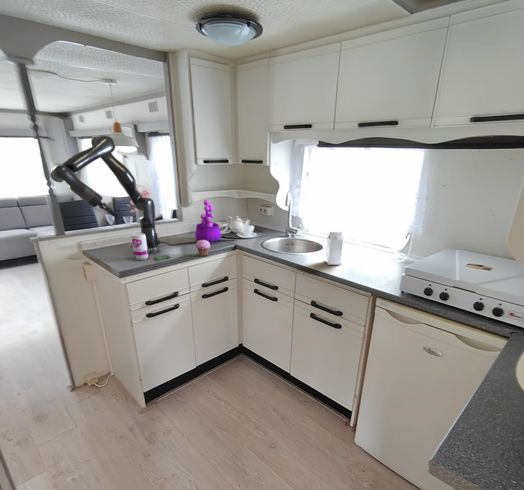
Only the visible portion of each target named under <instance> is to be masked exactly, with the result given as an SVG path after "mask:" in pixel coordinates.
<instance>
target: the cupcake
mask: <svg viewBox="0 0 524 490" xmlns="http://www.w3.org/2000/svg"><path fill="white" fill-rule="evenodd" d="M197 241H198V240H197ZM210 247H211V243H209V242H208V241H206V240H199V241H198V242H197V243H195V249H197V251H198V255H199V256H200V257H206V256H208V255H209V249H210Z"/></svg>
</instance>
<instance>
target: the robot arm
mask: <svg viewBox="0 0 524 490" xmlns="http://www.w3.org/2000/svg"><path fill="white" fill-rule="evenodd" d="M90 144H91V146H90V147H89V148H86V149H84V150H81V151H79V152H77V153H75V154H73V155H72V156H71V157H69V158H68V159H66V160H65V161H64V162H62V163H60V164H57V165H56V166H54V167H53V168H52V169H51V170H50V174H49V177H50V178H51V180H52V181H54V182H55V183H64V182H65V183H66V184H67V185H68V189H69V190H70V191H71V192H73V193H74V194H75V195H77V196H78V197H79V198H80V199H81V200H83V202H85V203H86V204H87V205H90V207H92V208H96V207H97V206H98V208H99V209H100V210H102V211H103V212H105V213H106V214H109V215H110V216H112V217H114V218H115V219H117V220H118V219H119V218H120V215H119V214H118V213H116V211H115V210H113V209H112V207H110V206H109V205H108V204H107V203H106V202H105V201H103V196H102V195H100V193H98V192H97V191H96V190H94V189H93V188H91V186H89V185H88V184H85V183H84V182H83V181H82V180H81V179H79V178H78V176H77V175H76V174H77V173H78V172H80V171H82V170H83V169H84V168H86V167H87V166H89V165H90V164H92V163H93V162H95V161H97V160H98V159H101V160H102V161H103V163H104V164H105V165H106V166H107V168H108V169H109V170H110V172H111V174H113V176H114V177H115V178H116V180H117V181H118V183H119V184H120V185H121V186H122V189H124V191H125V193H126V194H127V195H128V197H129V198H130V200H131V202H132V204H133V205H134V207H135V208H136V210H138V211H139V212H143V213H142V214H143V215H142V216H141V217H140V218H139V225H140V233H144V234H145V236H146V242H147V245H158V246H160V245H161V244H166V245H168V246H172V247H173V246H180V245H187V244H196V243H197V242H198V240H196V241H187V242H180V243H173V244H172V243H169V242H168V241H167V242H166V241H161V240H160V239H159V238H158V237H159V236H158V233H157V229H156V222H155V220H156V206H155V202H154V199H152V198H150V197H145V196H143V195H142V194H141V192H140V191H139V189H138V187H137V181H136V178H135V176H134V175H133V173H132V171H131V170H130V169H129V168H128V167H127V166H126V165H125V164H124V163H122V162H121V161H120V160H119V159H117V158H116V157H115V155H114V154H113V153H114V152H115V149H116V142H115V140H114V139H113V138H112V137H111V136H109V135H96V136H93V137H92V138H91V141H90ZM102 201H103V202H102ZM231 241H233V242H234V241H236V239H235V238H234V239H233V238H232V239H219V240H218V241H217V242H231Z"/></svg>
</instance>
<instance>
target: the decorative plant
mask: <svg viewBox="0 0 524 490" xmlns="http://www.w3.org/2000/svg"><path fill="white" fill-rule="evenodd" d="M203 205H204V207H203V210H204V211H205V213H201V214H200V219H201V221H200V223H197V224H196V227H195V233H194V238H195V239H196V241H199V240H206V241H208V242H209V243H210V244H211V243H216V242H219V241H218V240H221V238H222V232H221V229H220V225H219V223H217V222H213V221H212V219H213V218H214V213H212V212H213V210H214V207H213V205H211V204H210V201H209V200H208V199H205V200H204V201H203Z"/></svg>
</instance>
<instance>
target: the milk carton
mask: <svg viewBox="0 0 524 490" xmlns="http://www.w3.org/2000/svg"><path fill="white" fill-rule="evenodd" d="M343 243H344V239H343V233H342V231H329V234H328V236H327V240H326V251H325V262H326V264H327V265H334V266H336V265H337V266H338V265H341V261H342V251H343V250H342V249H343Z"/></svg>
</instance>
